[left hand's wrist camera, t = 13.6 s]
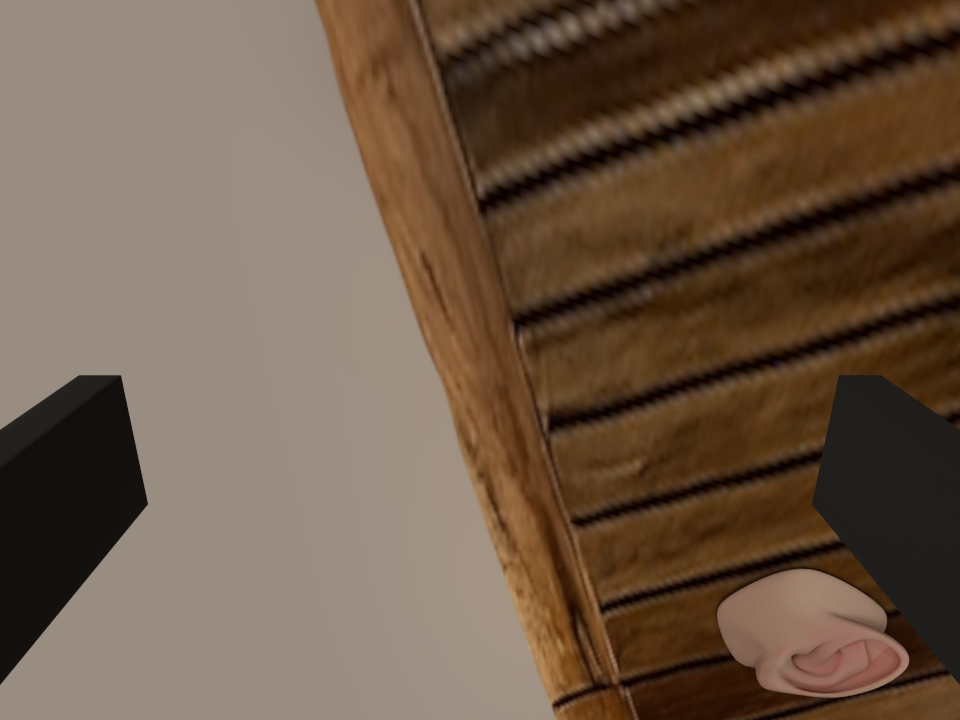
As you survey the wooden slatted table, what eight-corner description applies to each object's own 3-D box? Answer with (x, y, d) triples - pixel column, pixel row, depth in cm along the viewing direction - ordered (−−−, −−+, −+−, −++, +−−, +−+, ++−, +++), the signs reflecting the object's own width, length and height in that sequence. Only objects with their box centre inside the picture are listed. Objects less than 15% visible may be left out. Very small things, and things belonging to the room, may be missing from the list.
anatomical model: (706, 662, 52) (824, 570, 49) (691, 624, 56) (800, 537, 53) (815, 743, 55) (933, 662, 52) (794, 703, 59) (903, 625, 56)
